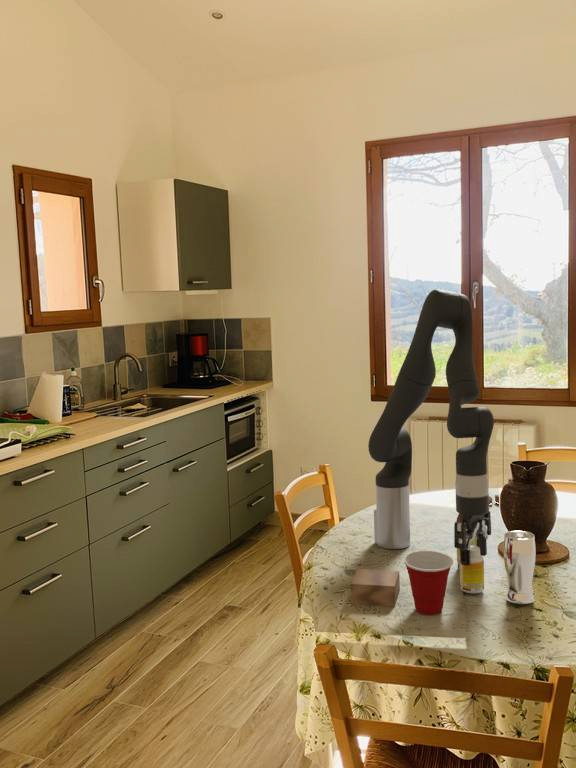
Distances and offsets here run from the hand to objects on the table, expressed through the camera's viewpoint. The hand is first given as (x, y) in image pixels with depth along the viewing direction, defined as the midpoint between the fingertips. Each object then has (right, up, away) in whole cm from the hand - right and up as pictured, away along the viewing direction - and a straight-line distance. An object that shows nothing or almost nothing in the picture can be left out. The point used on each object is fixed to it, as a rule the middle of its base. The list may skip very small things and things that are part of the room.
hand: (473, 559), depth 177 cm
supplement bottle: (0, -8, +1) cm, 8 cm away
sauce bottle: (+3, -6, +15) cm, 16 cm away
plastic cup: (-12, -9, -10) cm, 19 cm away
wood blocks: (+23, 0, +67) cm, 71 cm away
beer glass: (+9, -8, -6) cm, 13 cm away
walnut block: (-23, -9, -1) cm, 25 cm away
